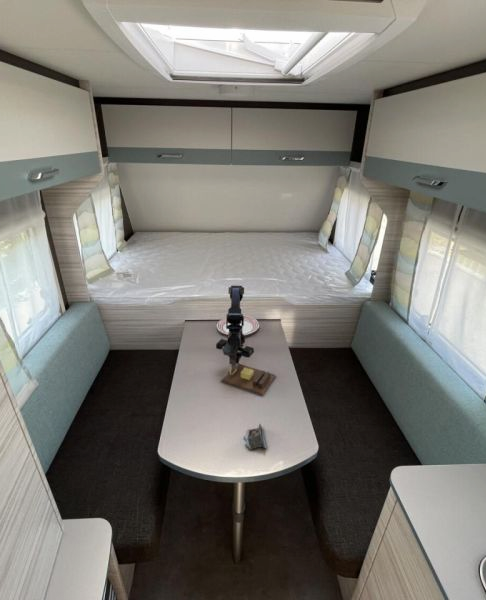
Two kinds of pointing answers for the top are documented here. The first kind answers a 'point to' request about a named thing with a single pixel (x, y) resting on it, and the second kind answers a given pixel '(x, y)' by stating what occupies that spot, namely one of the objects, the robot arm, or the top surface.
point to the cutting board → (255, 384)
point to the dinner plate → (248, 327)
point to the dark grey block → (233, 363)
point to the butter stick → (247, 373)
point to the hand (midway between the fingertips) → (234, 362)
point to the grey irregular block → (255, 438)
